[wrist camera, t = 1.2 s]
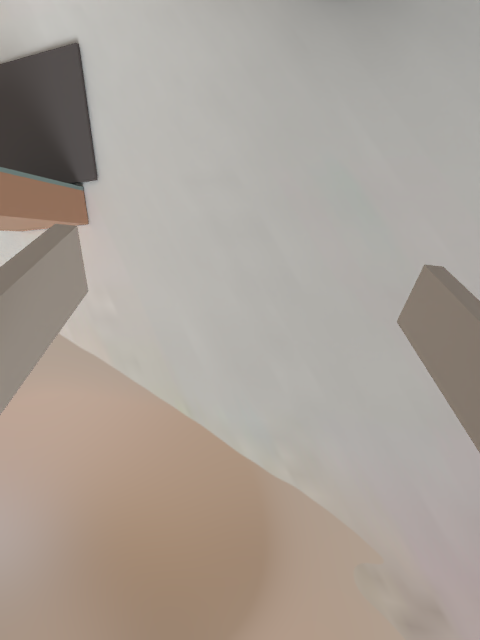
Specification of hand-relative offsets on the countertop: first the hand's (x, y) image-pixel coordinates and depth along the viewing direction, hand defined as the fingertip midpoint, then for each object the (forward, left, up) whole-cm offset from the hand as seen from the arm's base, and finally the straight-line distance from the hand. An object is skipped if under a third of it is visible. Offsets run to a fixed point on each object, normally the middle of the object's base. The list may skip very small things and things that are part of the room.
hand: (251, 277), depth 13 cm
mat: (-16, -29, -21) cm, 39 cm away
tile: (-7, -29, -21) cm, 36 cm away
